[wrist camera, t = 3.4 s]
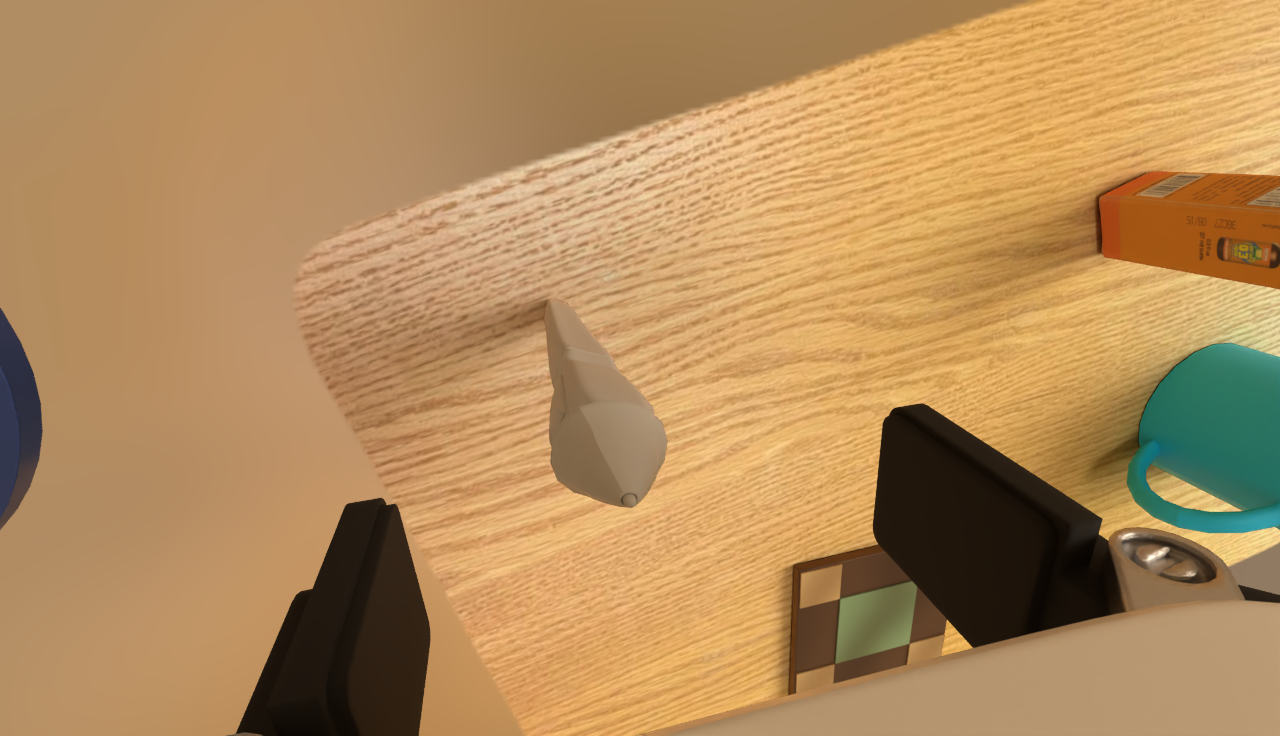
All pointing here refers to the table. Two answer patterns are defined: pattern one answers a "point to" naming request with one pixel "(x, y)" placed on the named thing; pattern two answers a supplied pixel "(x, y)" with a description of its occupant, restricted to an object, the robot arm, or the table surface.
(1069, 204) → the table surface
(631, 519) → the table surface
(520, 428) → the table surface
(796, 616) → the board
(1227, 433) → the mug
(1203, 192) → the supplement box
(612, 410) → the beige tapered rod
